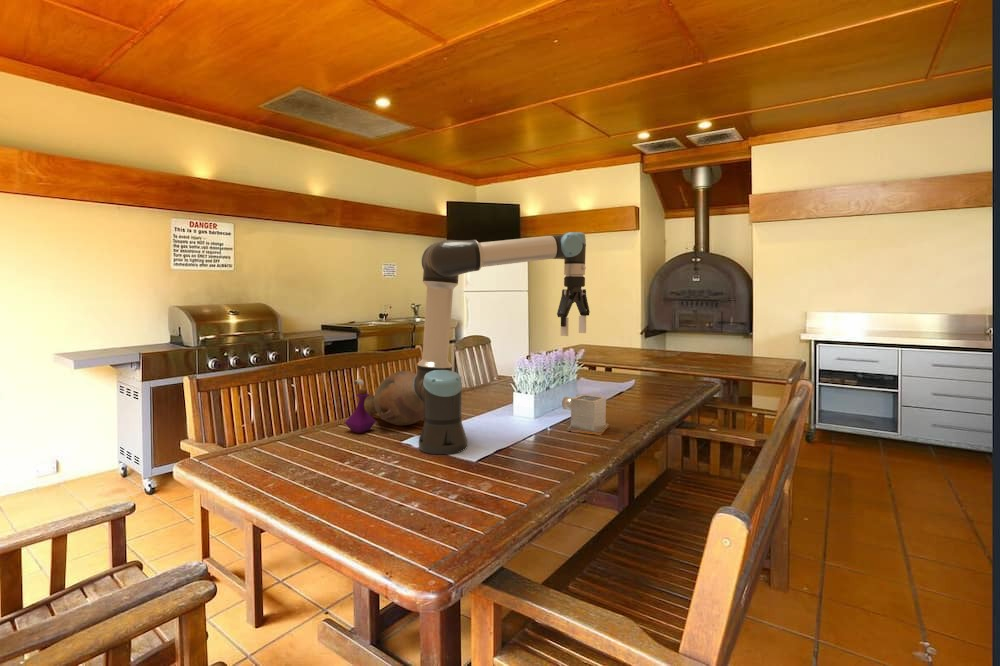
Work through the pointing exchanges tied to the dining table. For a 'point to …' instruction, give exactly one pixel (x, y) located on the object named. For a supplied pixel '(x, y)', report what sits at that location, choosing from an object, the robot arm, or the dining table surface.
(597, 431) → the duct stub
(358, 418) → the perfume bottle
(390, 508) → the dining table surface
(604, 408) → the collar
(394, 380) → the jug
